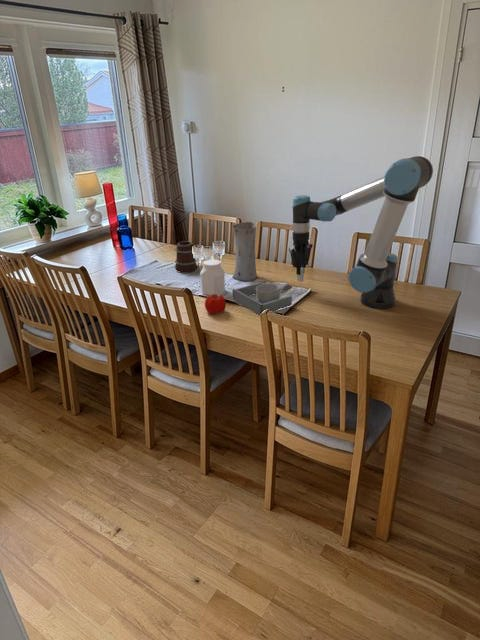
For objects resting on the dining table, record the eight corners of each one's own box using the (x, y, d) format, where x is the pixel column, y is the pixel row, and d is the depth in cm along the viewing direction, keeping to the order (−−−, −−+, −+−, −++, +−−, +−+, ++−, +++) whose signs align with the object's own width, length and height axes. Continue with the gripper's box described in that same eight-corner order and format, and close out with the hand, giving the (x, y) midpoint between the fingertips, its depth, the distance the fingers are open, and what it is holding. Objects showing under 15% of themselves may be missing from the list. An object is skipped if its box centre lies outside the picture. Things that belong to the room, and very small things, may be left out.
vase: (229, 281, 227) (227, 228, 214) (237, 271, 239) (236, 221, 226) (253, 284, 224) (253, 230, 211) (260, 274, 235) (260, 222, 222)
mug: (189, 274, 237) (187, 247, 231) (171, 270, 243) (168, 244, 236) (204, 265, 250) (203, 239, 243) (187, 262, 255) (185, 237, 248)
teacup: (276, 309, 195) (277, 292, 191) (253, 306, 198) (253, 290, 194) (283, 297, 207) (283, 281, 203) (260, 295, 210) (260, 279, 206)
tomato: (201, 312, 194) (200, 296, 190) (216, 306, 199) (216, 290, 196) (215, 318, 188) (215, 302, 184) (230, 312, 193) (230, 296, 190)
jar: (228, 290, 216) (227, 260, 209) (219, 297, 208) (217, 267, 202) (208, 286, 221) (206, 257, 214) (198, 293, 213) (196, 263, 206)
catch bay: (291, 306, 197) (291, 295, 195) (261, 316, 189) (261, 304, 186) (261, 291, 214) (261, 281, 211) (232, 299, 205) (232, 289, 203)
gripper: (306, 227, 204) (305, 275, 214) (284, 232, 198) (284, 281, 207) (317, 230, 198) (316, 279, 208) (295, 235, 192) (295, 286, 202)
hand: (300, 280), depth 208 cm, fingers closed
